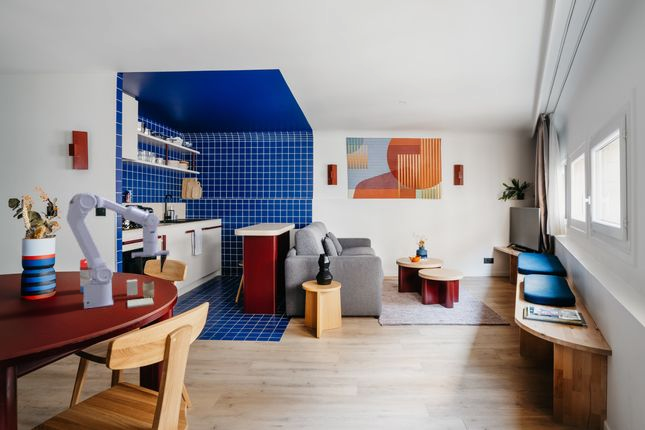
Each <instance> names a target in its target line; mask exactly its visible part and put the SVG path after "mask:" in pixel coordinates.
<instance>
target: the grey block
mask: <svg viewBox="0 0 645 430" xmlns="http://www.w3.org/2000/svg"><path fill="white" fill-rule="evenodd" d="M138 289H139V288H138V279H137V278H135V279H134V278H133V279H126V297H129V295H130V296H137V295H138V293H139V292H138V291H139V290H138Z"/></svg>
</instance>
